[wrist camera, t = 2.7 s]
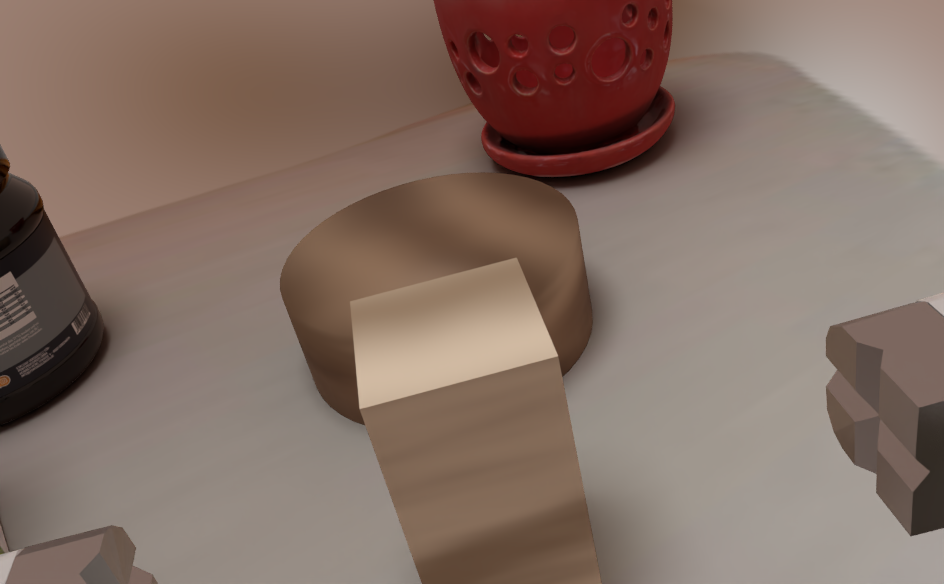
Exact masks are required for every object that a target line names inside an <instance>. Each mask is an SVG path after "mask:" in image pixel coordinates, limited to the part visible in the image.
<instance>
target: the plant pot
mask: <svg viewBox="0 0 944 584" xmlns="http://www.w3.org/2000/svg"><path fill="white" fill-rule="evenodd" d="M434 4H435V9H436V13H437V17H438V21H439V24H440V28H441V31H442V35H443V38H444V41H445V44H446V47H447V50H448V53H449V56H450V59H451V61H452V64H453V66H454V68H455V71H456V73H457V75H458V77H459V79H460V82H461V83H462V86H463V88H464V90H465V91H466V93H467V95H468V97H469V98H470V100H471V102H472V103H473V105H474V106H475V108H476V109H477V110H478V112H479V113H480V114H481V115H482V117H483V118H484V119H485V120H486V121H487V123H486V124H485V126H484V128H483V130H482V136H481V139H482V144H483V147H484V149H485V151H486V152H487V154H488V155H489V156H490V157H491V158H492V159H493V160H494V161H495V162H497V163H498V164H500V165H501V166H503V167H505V168H507V169H510V170H512V171H515V172H518V173H522V174H527V175H532V176H539V177H565V176H575V175H583V174H588V173H593V172H598V171H602V170H605V169H608V168H612V167H614V166H617V165H620V164H622V163H625V162H627V161H629V160H631V159H633V158H635V157H637V156H638V155H640V154H642V153H643V152H645V151H647V150H648V149H649V148H650V147H651V146H653V145H654V144H655V143H656V142H657V141H658V140H659V139H660V138H661V137H662V136H663V134H664V133H665V132H666V130H667V129H668V127H669V125H670V124H671V121H672V119H673V116H674V111H675V102H674V99H673V97H672V95H671V94H670V93H669V92H668V91H667V90H666V89H664V88H663V87H661V86H660V84H661V81H662V78H663V75H664V72H665V69H666V65H667V61H668V56H669V51H670V45H671V35H672V0H434ZM483 33H484V34H486V35H487V36H489V37H490V38H491V40H490V41H489V40H488V39H487V38H486V37H485V36H484V34H483ZM516 34H518V35H521V36H523V37H518V36H516Z"/></svg>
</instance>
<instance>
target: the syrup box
mask: <svg viewBox="0 0 944 584" xmlns="http://www.w3.org/2000/svg"><path fill="white" fill-rule="evenodd" d="M8 552H9V551H8V547H7V544H6V541H5V538H4V534H3V531H2V528H1V524H0V554H4V553H8Z"/></svg>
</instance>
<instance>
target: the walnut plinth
mask: <svg viewBox="0 0 944 584" xmlns="http://www.w3.org/2000/svg"><path fill="white" fill-rule="evenodd" d="M513 258H517V260H518V262H519V264H520V267H521V269H522V271H523V274H524V276H525V279H526V281H527V283H528V286H529V288H530V290H531V293H532V295H533V298H534V300H535V302H536V305H537V307H538V309H539V312H540V314H541V317H542V319H543V321H544V324H545V326H546V328H547V331H548V333H549V336H550V338H551V340H552V343H553V345H554V347H555V350H556V352H557V355H558V358H559V363H560V368H561V374H562V377H563V376H564V375H565V374H566V373H567V372H568V371H569V370H570V369H571V368H572V366H573V365H574V364H575V363H576V361H577V360H578V359H579V358H580V356H581V354H582V353H583V351H584V349H585V347H586V346H587V343H588V340H589V337H590V335H591V330H592V324H593V318H592V307H591V301H590V295H589V288H588V282H587V276H586V269H585V263H584V257H583V250H582V244H581V238H580V231H579V225H578V219H577V216H576V212H575V209H574V208H573V206H572V205H571V203H570V201H569V200H568V199H567V198H566V197H565V196H564V195H563V194H562V193H560V192H559V191H557V190H556V189H554V188H553V187H551V186H549V185H546V184H544V183H542V182H540V181H537V180H533V179H530V178H527V177H522V176H517V175H511V174H502V173H462V174H451V175H444V176H437V177H432V178H427V179H422V180H417V181H414V182H410V183H406V184H402V185H399V186H396V187H393V188H390V189H387V190H384V191H381V192H379V193H376V194H374V195H371V196H369V197H366V198H364V199H362V200H360V201H358V202H356V203H353V204H352V205H350V206H348V207H346V208H344V209H342V210H341V211H339V212H337V213H336V214H334V215H332V216H331V217H329V218H328V219H326V220H325V221H323V222H322V223H321V224H319V225H318V226H317V227H315V228H314V229H313V230H312V231H311V232H310V233H309V234H307V235H306V236H305V237H304V238H303V239H302V240H301V241H300V243H299V244H298V245H297V246H296V247H295V248H294V250H293V251H292V253H291V254H290V255H289V257H288V258H287V260H286V263H285V265H284V267H283V269H282V273H281V278H280V291H281V295H282V298H283V301H284V304H285V306H286V309H287V311H288V314H289V317H290V319H291V322H292V324H293V327H294V330H295V332H296V335H297V337H298V340H299V343H300V345H301V348H302V351H303V353H304V356H305V358H306V361H307V364H308V366H309V369H310V371H311V374H312V377H313V379H314V382H315V384H316V387H317V389H318V391H319V393H320V394H321V396H322V398H323V399H324V400H325V401H326V402H327V403H328V405H329V406H330V407H331V408H333V409H334V410H335V411H337V412H338V413H339V414H341V415H343V416H344V417H346V418H348V419H350V420H352V421H354V422H357V423H360V424H363V425H365V423H364V420H363V417H362V415H361V412H360V408H359V397H358V386H357V375H356V363H355V352H354V341H353V330H352V319H351V307H350V301H354V300H358V299H361V298H365V297H369V296H373V295H376V294H380V293H384V292H388V291H392V290H395V289H399V288H403V287H407V286H411V285H414V284H418V283H422V282H426V281H429V280H433V279H437V278H441V277H445V276H448V275H452V274H456V273H460V272H464V271H467V270H471V269H475V268H479V267H483V266H486V265H490V264H494V263H498V262H501V261H505V260H509V259H513Z"/></svg>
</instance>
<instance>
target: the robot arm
mask: <svg viewBox="0 0 944 584" xmlns="http://www.w3.org/2000/svg"><path fill="white" fill-rule="evenodd" d="M826 357H827V358H828V359H829V360H830V361H831V362H832V364H833V365H834V366H835V367H836V368H837V369H838V370H837V371H836V373H835V374H834V376H833V377H832V379H831V380H830V382H829V383H828V385H827V386H826V395H827V411H828V414H829V417H830V421H831V424H832V427H833V431H834V433H835V435H836V437H837V439H838V441H839V443H840V445H841V446H842V448H843V450H844V451H845V453H846V454H847V455H848V457H849V458H850V459H851V461H852V462H853V463H854V465H856V466H859V467H861V468H864V469H866V470H868V471H871V472H873V473H876V474H877V481H876V493H877V494H878V496H879V497H880V498H881V499H882V501H883V502H884V503H885V504H886V506H887V507H888V508H889V509H890V511H891V512H892V513H893V515H894V516H895V517H896V518H897V520H898V521H899V522H900V523H901V525H902V526H903V527H904V529H905V530H906V531H907V532H908V534H909V535H910V536H914V535H918V534H922V533H926V532H930V531H934V530H938V529H942V528H944V293H941V294H937V295H934V296H931V297H927V298H924V299H921V300H917V301H916V302H915V303H910V304H907V305H903V306H900V307H896V308H893V309H889V310H886V311H882V312H879V313H875V314H872V315H868V316H865V317H861V318H858V319H854V320H851V321H847V322H844V323H840V324H836V325H833V326H830V328H829V331H828V334H827V337H826ZM135 550H136V547H135V545H134V544H133V542H132V541H131V540H130V538H129V537H128V535H127V534H126V532H125V531H124V529H123V528H122V527H117V526H112V525H111V526H107V527H104V528H100V529H96V530H92V531H88V532H84V533H80V534H76V535H72V536H68V537H64V538H60V539H56V540H52V541H48V542H44V543H40V544H36V545H32V546H29V547H25V548H24V549H21V550H16V551H12V552H8V553H4V554H0V584H158V583H157V581H156V580H155V578H154V576H153V575H152V574H150V573H148V572H146V571H143V570H141V569H139V568H137V567H135V566H132V565H133V560H134V555H135Z"/></svg>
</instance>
